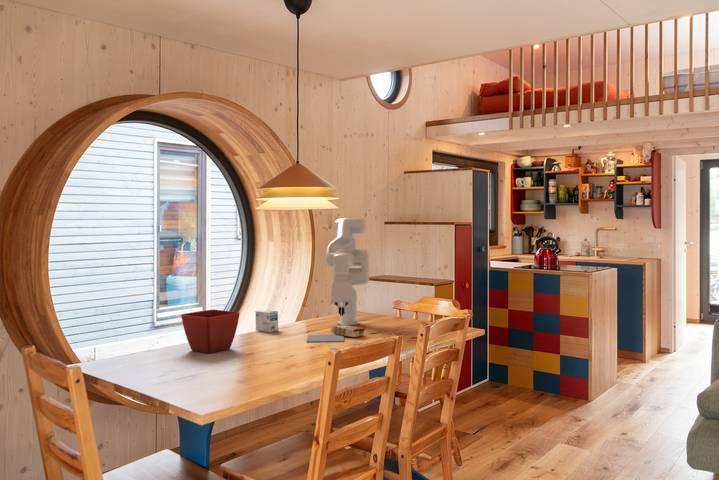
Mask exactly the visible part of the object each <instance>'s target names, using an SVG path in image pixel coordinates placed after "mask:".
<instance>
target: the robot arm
mask: <svg viewBox="0 0 719 480" xmlns="http://www.w3.org/2000/svg"><path fill="white" fill-rule="evenodd" d="M334 226H335V227H334V228H335V231H336V238H335V239H333V240H332V241H331V242H330V243H329V244H328V246H327V247H326V252H325V265H326V266H327V267H329V268H333V280H332V282H331V289H330V291H331V292H330V297H331V299H330V304H332V305H335V306H336V307H337V309H338V315H339V320H338V321H336V323H337V325H347V326H356V325H359V324H360V320H358V318H357V317H358V312H357V311H358V309H357V306H358V305H357V304H358V301H357V297H358V296H357V295H358V294H357V290H356V289H355V288H354V286H365V285H367V284H369V281H370V258H369V257H370V256H369V252H368V250H367V249H364V248H356V238H355V236H353V235H354V234H365V233H366V230H367V222H366V220H365V218H364V217H343V218H337V220H335V222H334ZM337 251H340V252H337ZM352 266H354V267H352ZM355 266H357V267H355ZM358 266H359V267H358Z"/></svg>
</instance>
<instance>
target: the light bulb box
mask: <svg viewBox="0 0 719 480" xmlns="http://www.w3.org/2000/svg"><path fill="white" fill-rule="evenodd" d="M278 313H279V310H270V309H259V310H256V311H255V331H258V332H264V333H273V332H278V331H279V314H278Z"/></svg>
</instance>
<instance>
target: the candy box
mask: <svg viewBox="0 0 719 480" xmlns="http://www.w3.org/2000/svg"><path fill="white" fill-rule="evenodd" d="M330 327H331V329H330V333H331V334H333V335H336V334H339V335H344V337H352V338H356V337H365V331H366V330H365V327H360V326H355V325H340V324H337V325H336V324H334V325H331V326H330Z"/></svg>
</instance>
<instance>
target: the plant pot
mask: <svg viewBox="0 0 719 480" xmlns="http://www.w3.org/2000/svg"><path fill="white" fill-rule="evenodd" d="M180 316H181V317H180V318H181V322H182V326H183V330H184V334H185V336H186V340H187V343H188V345H189V347H190V349H191V351H194V352H195V351H196V352H199V353H205V354H206V353H207V354H212V353H216V352H221V351H227V350H230V349H231V346H232V344H233V341H234V339H235V337H236V332H237V329H238V324H239V319H240V312H238V311H231V310H222V309H209V310H208V309H207V310H201V311H193V312H188V313H182V314H180Z"/></svg>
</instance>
